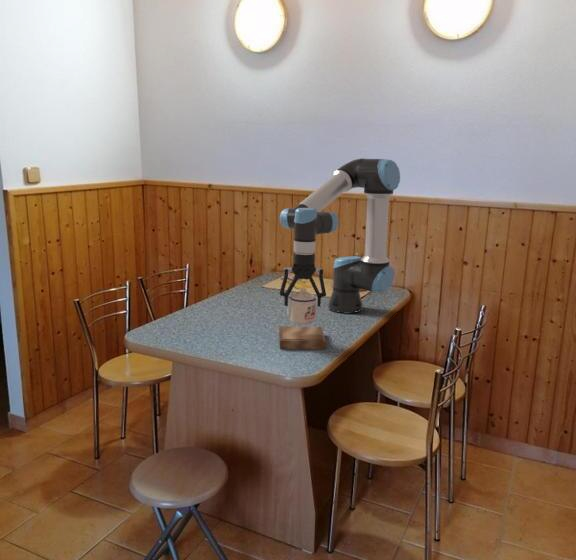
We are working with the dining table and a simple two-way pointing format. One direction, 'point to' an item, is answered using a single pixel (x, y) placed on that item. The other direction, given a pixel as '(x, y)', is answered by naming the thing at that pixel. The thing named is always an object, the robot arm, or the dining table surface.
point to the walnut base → (301, 337)
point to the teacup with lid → (302, 307)
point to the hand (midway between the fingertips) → (302, 314)
